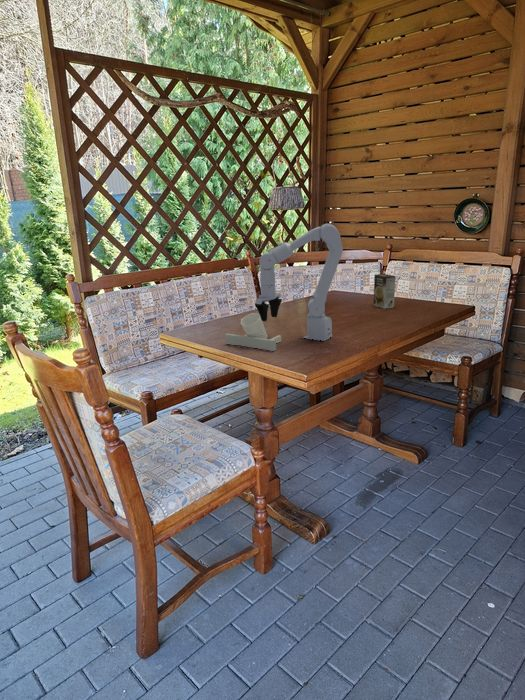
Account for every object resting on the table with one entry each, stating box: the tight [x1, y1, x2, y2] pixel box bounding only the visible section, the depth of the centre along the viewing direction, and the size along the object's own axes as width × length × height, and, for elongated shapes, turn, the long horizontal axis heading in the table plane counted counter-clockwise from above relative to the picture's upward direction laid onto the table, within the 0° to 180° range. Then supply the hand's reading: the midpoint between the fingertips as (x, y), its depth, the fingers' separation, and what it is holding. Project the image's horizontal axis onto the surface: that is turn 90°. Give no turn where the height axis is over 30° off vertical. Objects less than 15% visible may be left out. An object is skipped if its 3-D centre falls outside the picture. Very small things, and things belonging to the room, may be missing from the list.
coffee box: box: [373, 273, 396, 310], centre depth 238 cm, size 9×6×16 cm
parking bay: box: [224, 333, 282, 352], centre depth 182 cm, size 22×13×4 cm, turn 57°
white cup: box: [240, 312, 268, 339], centre depth 180 cm, size 8×8×10 cm
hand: (269, 318), depth 187 cm, fingers open, 7 cm apart
